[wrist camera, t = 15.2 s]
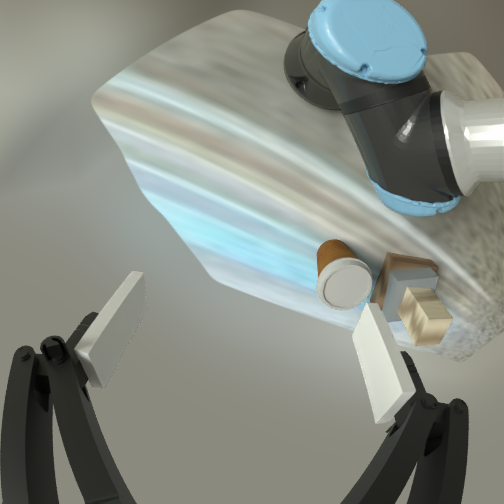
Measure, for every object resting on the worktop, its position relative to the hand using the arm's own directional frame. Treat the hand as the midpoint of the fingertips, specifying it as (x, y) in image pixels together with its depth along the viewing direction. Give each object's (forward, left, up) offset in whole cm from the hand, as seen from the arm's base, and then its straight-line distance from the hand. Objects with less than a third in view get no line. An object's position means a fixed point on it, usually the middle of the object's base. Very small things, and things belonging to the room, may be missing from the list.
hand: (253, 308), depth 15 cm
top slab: (+16, +33, -31) cm, 48 cm away
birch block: (+16, +33, -27) cm, 45 cm away
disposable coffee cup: (+12, +15, -35) cm, 40 cm away
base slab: (+16, +33, -35) cm, 51 cm away
